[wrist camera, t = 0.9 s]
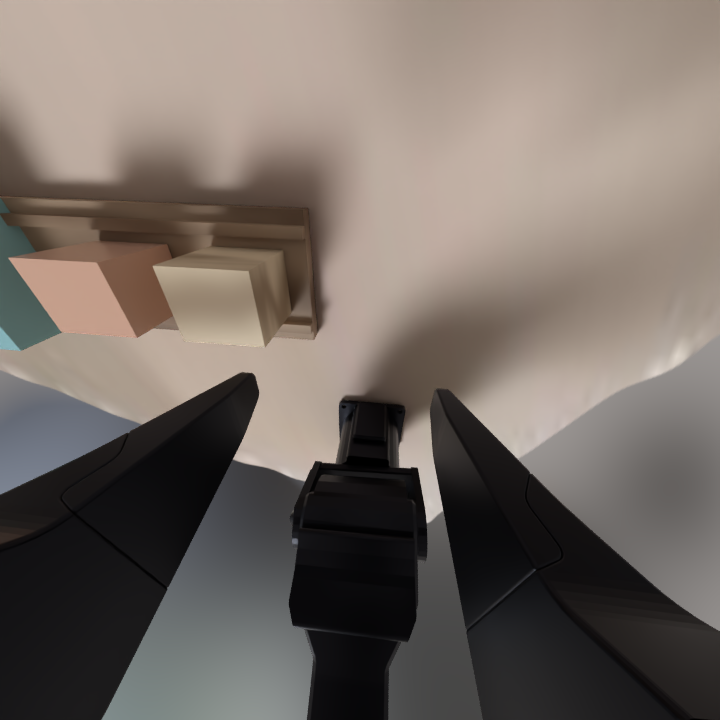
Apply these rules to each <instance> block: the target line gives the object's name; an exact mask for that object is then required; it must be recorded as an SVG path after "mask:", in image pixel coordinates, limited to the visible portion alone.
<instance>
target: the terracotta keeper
mask: <svg viewBox="0 0 720 720" xmlns="http://www.w3.org/2000/svg"><path fill="white" fill-rule="evenodd" d="M8 259H9V260H10V261H11V263H12V264H13V266H14V267H15V268H16V270H17V271H18V272H19V274H20V275H21V277H22V278H23V279H24V281H25V282H26V284H27V285H28V286H29V288H30V289H31V291H32V292H33V293H34V295H35V296H36V297H37V299H38V300H39V302H40V303H41V304H42V306H43V307H44V309H45V310H46V311H47V313H48V314H49V316H50V317H51V318H52V320H53V321H54V322H55V324H56V325H57V327H58V328H59V329H60V331H61V332H67V333H80V334H93V335H107V336H120V337H133V338H138V337H139V336H141V335H143V334H144V333H146V332H148V331H149V330H151V329H153V328H154V327H156V326H158V325H159V324H161V323H162V322H164V321H166V320H167V319H169V318H171V317H172V316H173V314H172V311H171V309H170V307H169V304H168V302H167V300H166V297H165V295H164V292H163V290H162V288H161V285H160V283H159V281H158V278H157V276H156V273H155V271H154V269H153V265H156V264H159V263H162V262H165V261H168V260H171V259H172V256H171V253H170V251H169V248H168V245H167V244H157V243H137V242H118V241H92V242H87V243H82V244H77V245H71V246H66V247H61V248H55V249H50V250H45V251H40V252H34V253H29V254H24V255H19V256H13V257H8Z"/></svg>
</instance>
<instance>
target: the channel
mask: <svg viewBox="0 0 720 720" xmlns="http://www.w3.org/2000/svg"><path fill="white" fill-rule="evenodd" d="M0 198H1V199H2V201H3V202H4V204H5V205H6V207H7V208H8V210H9V211H10V213H0V216H1V217H2V218H3V220H4V221H5V223H6V224H7V226H19V227H20V228H21V230H22V231H23V233H24V234H25V236H26V237H27V239H28V240H29V242H30V243H31V245H32V247H33V248H34V250H35V251H36V252H40V251H45V250H50V249H55V248H61V247H66V246H71V245H77V244H82V243H87V242H92V241H118V242H137V243H157V244H167V245H168V248H169V251H170V253H171V256H172V259H174V258H176V257H179V256H182V255H185V254H188V253H191V252H194V251H197V250H200V249H203V248H206V247H209V246H216V247H236V248H256V249H275V250H283V251H284V258H285V266H286V273H287V281H288V288H289V296H290V303H291V311H292V313H291V314H290V316H289V317H288V318H287V319H286V321H285V322H284V323H283V325H282V326H281V327H280V329H279V330H278V331H277V332H276V334H275V335H274V336H273V337H279V338H293V339H307V340H314V339H315V337H316V335H317V333H318V332H317V319H316V306H315V293H314V279H313V266H312V253H311V240H310V227H309V213H308V208H287V207H262V206H237V205H212V204H187V203H162V202H137V201H112V200H87V199H62V198H37V197H12V196H0ZM154 328H156V329H170V330H179V328H178V326H177V323H176V321H175V319H174V316H172V317H171V318H169V319H167V320H166V321H164V322H162V323H161V324H159V325H158V326H156V327H154Z"/></svg>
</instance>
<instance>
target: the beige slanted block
mask: <svg viewBox="0 0 720 720" xmlns="http://www.w3.org/2000/svg"><path fill="white" fill-rule="evenodd" d="M153 269H154V271H155V273H156V276H157V278H158V281H159V283H160V285H161V288H162V290H163V292H164V295H165V297H166V300H167V302H168V304H169V307H170V309H171V311H172V314H173V316H174V319H175V321H176V323H177V326H178V328H179V330H180V333H181V335H182V338H183V340H184V341H186V342H199V343H212V344H225V345H238V346H252V347H266V346H267V344H268V343H269V342H270V340H271V339H272V338H273V336H274V335H275V334H276V332H277V331H278V330H279V329H280V327H281V326H282V325H283V323H284V322H285V321H286V319H287V318H288V317H289V316H290V314H291V313H292V311H291V303H290V296H289V288H288V281H287V273H286V266H285V258H284V251H283V250H275V249H256V248H236V247H216V246H209V247H206V248H203V249H200V250H197V251H194V252H191V253H188V254H185V255H182V256H179V257H176V258H174V259H171V260H168V261H165V262H162V263H159V264H156V265H153Z"/></svg>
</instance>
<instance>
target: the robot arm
mask: <svg viewBox="0 0 720 720" xmlns="http://www.w3.org/2000/svg"><path fill="white" fill-rule="evenodd" d="M258 398H259V389H258V385H257V381H256V377H255V375H254V374H253V373H245V372H242V373H239V374H237V375H235V376H233V377H232V378H230V379H228V380H226V381H224V382H222V383H220V384H218V385H216V386H215V387H213V388H211V389H209V390H207V391H205V392H203V393H201V394H199V395H198V396H196V397H194V398H192V399H190V400H188V401H186V402H184V403H182V404H181V405H179V406H177V407H175V408H173V409H171V410H169V411H167V412H165V413H164V414H162V415H160V416H158V417H156V418H154V419H152V420H150V421H148V422H147V423H145V424H143V425H141V426H139V427H138V428H135V429H133V430H131V431H130V433H126V434H124V435H122V436H120V437H118V438H117V439H114V440H113V441H111V442H109V443H107V444H105V445H103V446H101V447H99V448H97V449H95V450H93V451H91V452H89V453H87V454H86V455H83V456H81V457H79V458H77V459H75V460H73V461H71V462H69V463H66V464H64V465H62V466H60V467H58V468H56V469H54V470H52V471H50V472H48V473H46V474H43V475H41V476H39V477H37V478H35V479H33V480H31V481H28V482H26V483H24V484H22V485H20V486H18V487H16V488H14V489H12V490H10V491H8V492H5V493H3V494H1V495H0V720H101V719H102V717H103V716H104V714H105V712H106V710H107V708H108V707H109V704H110V703H111V701H112V698H113V697H114V694H115V693H116V691H117V689H118V687H119V685H120V683H121V681H122V679H123V677H124V675H125V673H126V671H127V669H128V667H129V665H130V663H131V661H132V659H133V657H134V655H135V653H136V651H137V649H138V647H139V645H140V643H141V641H142V639H143V637H144V635H145V633H146V631H147V629H148V627H149V625H150V623H151V621H152V619H153V617H154V615H155V613H156V611H157V609H158V607H159V605H160V603H161V601H162V599H163V597H164V595H165V593H166V591H167V587H169V585H170V583H171V581H172V579H173V577H174V575H175V573H176V571H177V569H178V567H179V565H180V563H181V561H182V559H183V557H184V555H185V553H186V551H187V549H188V547H189V545H190V543H191V541H192V539H193V537H194V535H195V533H196V531H197V529H198V527H199V525H200V523H201V521H202V519H203V517H204V515H205V513H206V511H207V509H208V507H209V505H210V503H211V501H212V499H213V497H214V495H215V493H216V491H217V489H218V487H219V485H220V483H221V481H222V479H223V477H224V475H225V473H226V471H227V469H228V467H229V465H230V464H231V461H232V460H233V458H234V456H235V454H236V452H237V450H238V448H239V446H240V444H241V442H242V439H243V437H244V435H245V433H246V430H247V428H248V425H249V422H250V419H251V417H252V414H253V411H254V409H255V406H256V403H257V400H258ZM343 405H345V406H343ZM399 410H401V411H399ZM404 416H405V408H404V406H402V405H393V404H381V403H370V402H358V401H347V400H342V401H340V403H339V431H340V443H339V448H338V453H337V458H336V464H334V463H322V462H320V461H315V463H314V465H313V468H312V469H311V470H310V472H309V475H308V477H307V479H306V482H305V484H304V486H303V488H302V491H301V493H300V495H299V498H298V500H297V502H296V505H295V507H294V510H293V512H292V513H291V516H290V523H291V524H292V526H293V530H292V544H293V547H294V549H296V550H297V554H296V563H295V571H294V577H293V582H292V587H291V593H290V598H289V608H290V613H291V619H292V624H293V626H294V628H301V629H304V630H305V633H306V636H307V639H308V643H309V646H310V649H311V652H312V655H313V668H312V678H311V687H310V696H309V706H308V715H307V720H388V683H389V682H388V681H389V666H390V665H391V662H392V660H393V658H394V656H395V654H396V652H397V650H398V648H399V646H400V643H401V642H408V640H409V638H410V635H411V633H412V630H413V627H414V624H415V622H416V609H417V606H418V569H417V567H418V564H417V562H426V558H427V524H426V513H425V506H424V501H423V495H422V490H421V484H420V478H419V473H418V468H414V467H411V468H399V443H400V438H401V432H402V427H403V421H404ZM430 419H431V434H432V448H433V457H434V464H435V469H436V474H437V479H438V485H439V490H440V495H441V500H442V506H443V511H444V516H445V521H446V526H447V532H448V537H449V542H450V547H451V553H452V558H453V563H454V569H455V574H456V579H457V584H458V589H459V595H460V600H461V605H462V610H463V616H464V621H465V626H466V629H467V638H468V643H469V648H470V653H471V658H472V664H473V669H474V674H475V679H476V685H477V690H478V696H479V701H480V706H481V711H482V716H483V720H720V631H718V630H716V629H715V628H713V627H711V626H709V625H708V624H706V623H704V622H703V621H701V620H700V619H698V618H696V617H695V616H693V615H692V614H691V613H689V612H688V611H686V610H685V609H683V608H682V607H680V606H679V605H677V604H676V603H675V602H674V601H673V600H671V599H670V598H669V597H667V596H666V595H665V594H663V593H662V592H661V591H660V590H659V589H658V588H656V587H655V586H654V585H653V584H652V583H650V582H649V581H648V580H647V579H646V578H645V577H644V576H643V575H641V574H640V573H639V572H638V571H637V570H636V569H635V568H634V567H632V566H631V565H630V564H629V563H628V562H627V561H626V560H625V559H623V558H622V557H621V556H620V555H619V554H617V552H615V551H614V550H613V549H612V548H611V547H610V546H608V544H606V543H605V542H604V541H603V540H602V539H600V537H598V536H597V535H596V534H595V533H594V532H593V531H592V530H590V529H589V528H588V527H587V526H586V525H585V524H584V523H583V522H582V521H581V520H580V519H578V518H577V517H576V516H575V515H574V514H573V513H572V512H571V511H570V510H569V509H567V508H566V507H565V506H564V505H563V504H562V503H561V502H560V501H559V500H558V499H557V498H556V497H555V496H554V495H553V494H552V493H551V492H550V491H549V490H548V489H547V488H546V487H545V486H544V485H543V484H542V483H541V482H540V481H539V480H538V479H537V478H536V477H535V476H534V475H533V474H530V472H529V471H528V469H527V468H526V467H525V466H524V465H523V464H522V463H521V462H520V461H519V460H518V459H517V458H516V457H515V456H514V455H513V454H512V453H511V452H510V451H509V450H508V449H507V448H506V447H505V446H504V445H503V444H502V443H501V442H500V441H499V440H498V439H497V438H496V437H495V436H494V435H493V434H492V433H491V432H490V431H489V430H488V429H487V428H486V427H485V426H484V425H483V424H482V423H481V422H480V421H479V420H478V419H477V418H476V417H475V416H474V415H473V414H472V413H471V412H470V411H469V410H468V409H467V408H466V407H465V406H464V405H463V404H462V403H461V402H460V401H459V400H458V398H457V397H456V396H455V395H454V394H453V393H452V392H451V391H449V390H448V389H436V390H435V391H434V395H433V399H432V403H431V407H430Z"/></svg>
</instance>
